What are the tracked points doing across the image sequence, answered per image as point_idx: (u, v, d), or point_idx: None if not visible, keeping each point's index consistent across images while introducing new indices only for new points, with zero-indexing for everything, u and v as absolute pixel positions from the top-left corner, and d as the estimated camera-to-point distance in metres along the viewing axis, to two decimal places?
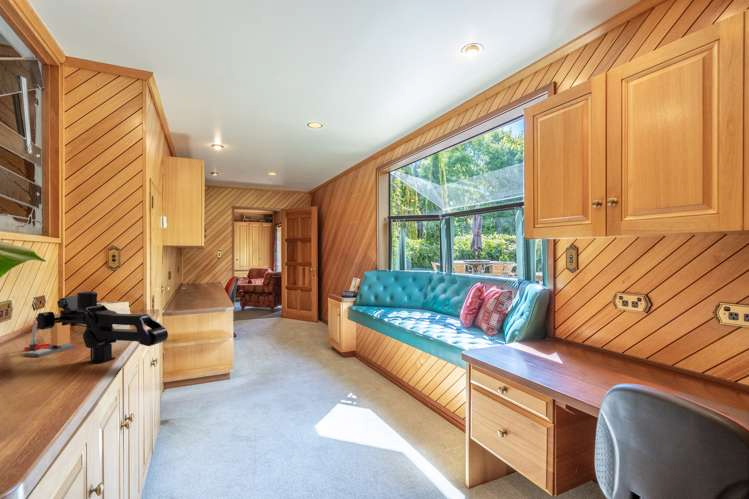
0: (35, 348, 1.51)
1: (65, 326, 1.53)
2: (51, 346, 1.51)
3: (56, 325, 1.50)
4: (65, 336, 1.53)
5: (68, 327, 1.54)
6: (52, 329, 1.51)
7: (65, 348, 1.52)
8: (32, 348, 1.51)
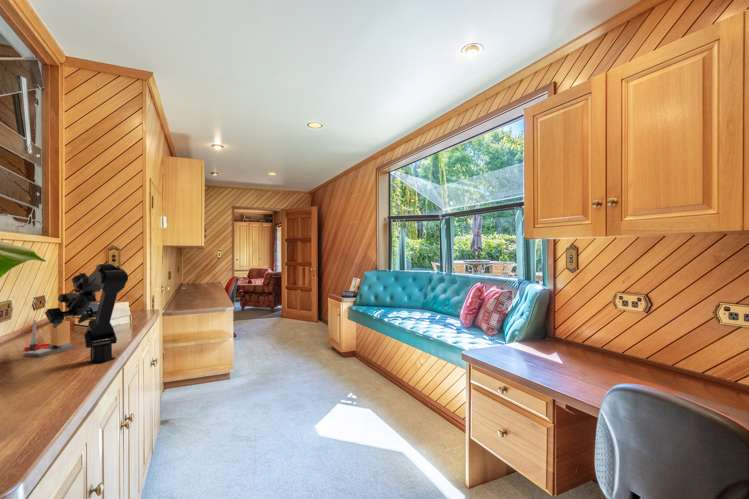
0: (35, 348, 1.51)
1: (65, 326, 1.53)
2: (51, 346, 1.51)
3: None
4: (65, 336, 1.53)
5: (68, 327, 1.54)
6: (52, 329, 1.51)
7: (65, 348, 1.52)
8: (32, 348, 1.51)
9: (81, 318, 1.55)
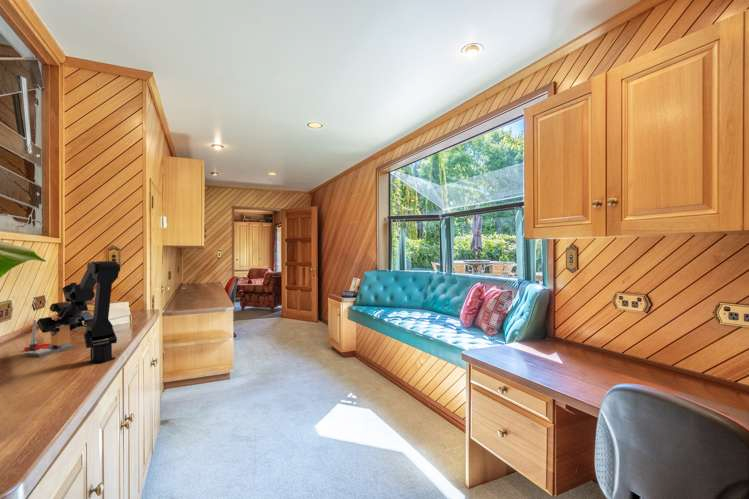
0: (35, 348, 1.51)
1: (65, 326, 1.53)
2: (51, 346, 1.51)
3: None
4: (65, 336, 1.53)
5: (68, 327, 1.54)
6: None
7: (65, 348, 1.52)
8: (32, 348, 1.51)
9: None
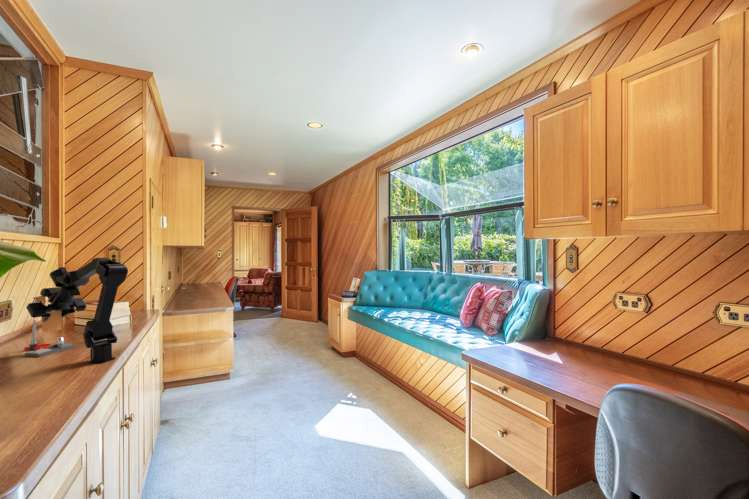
0: (35, 348, 1.51)
1: (56, 312, 1.49)
2: (51, 346, 1.51)
3: None
4: (56, 322, 1.49)
5: (60, 313, 1.50)
6: None
7: (65, 348, 1.52)
8: (32, 348, 1.51)
9: None
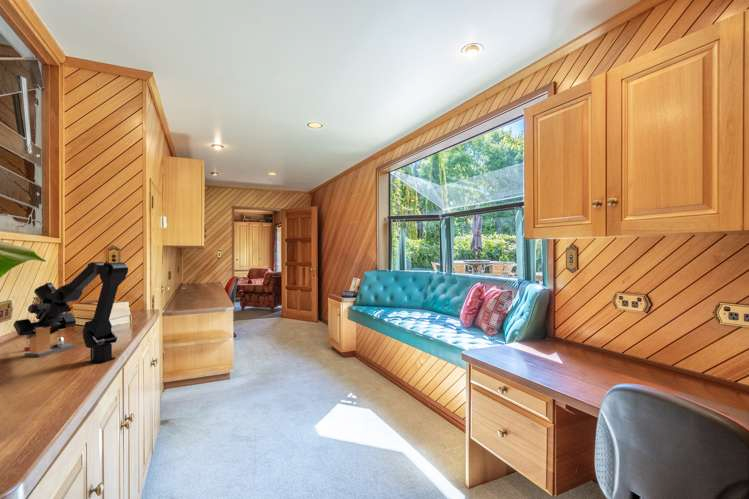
0: None
1: (45, 332, 1.45)
2: (51, 346, 1.51)
3: (35, 331, 1.42)
4: (45, 342, 1.45)
5: (48, 333, 1.46)
6: None
7: (65, 348, 1.52)
8: None
9: (50, 330, 1.48)
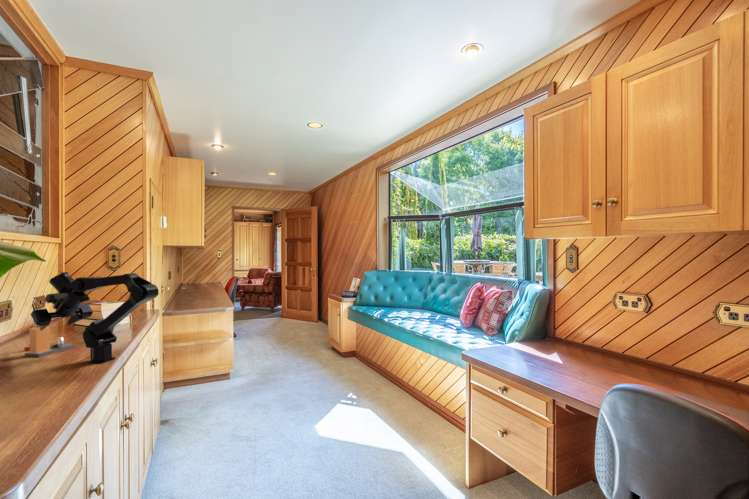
0: None
1: (45, 332, 1.45)
2: (51, 346, 1.51)
3: (35, 331, 1.42)
4: (45, 342, 1.45)
5: (48, 333, 1.46)
6: (31, 335, 1.43)
7: (65, 348, 1.52)
8: None
9: (70, 320, 1.46)
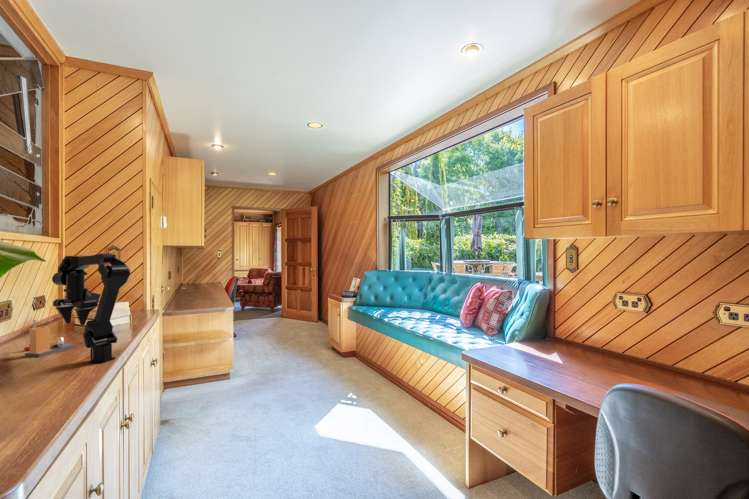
0: None
1: (45, 332, 1.45)
2: (51, 346, 1.51)
3: (35, 331, 1.42)
4: (45, 342, 1.45)
5: (48, 333, 1.46)
6: (31, 335, 1.43)
7: (65, 348, 1.52)
8: None
9: None
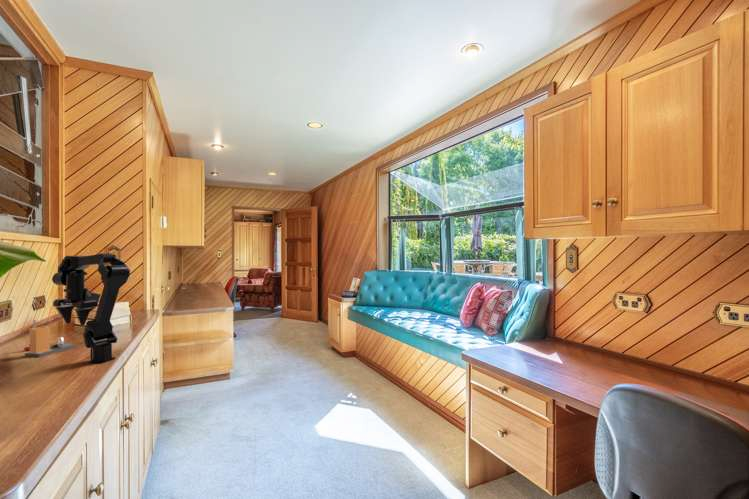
0: None
1: (45, 332, 1.45)
2: (51, 346, 1.51)
3: (35, 331, 1.42)
4: (45, 342, 1.45)
5: (48, 333, 1.46)
6: (31, 335, 1.43)
7: (65, 348, 1.52)
8: None
9: None
